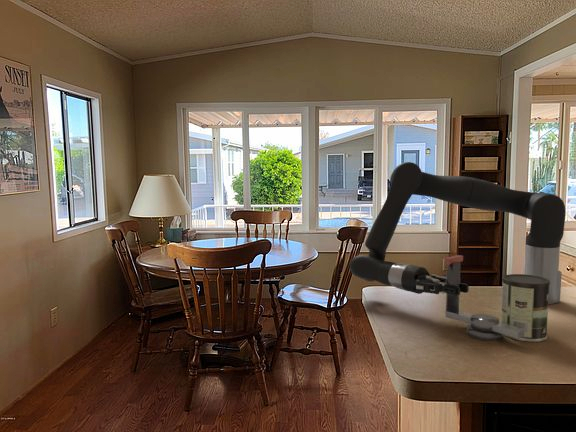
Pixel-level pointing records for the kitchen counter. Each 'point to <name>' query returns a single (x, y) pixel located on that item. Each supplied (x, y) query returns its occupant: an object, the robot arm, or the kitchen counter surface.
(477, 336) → the base
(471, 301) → the kitchen counter surface
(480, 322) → the crank
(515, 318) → the coffee can
